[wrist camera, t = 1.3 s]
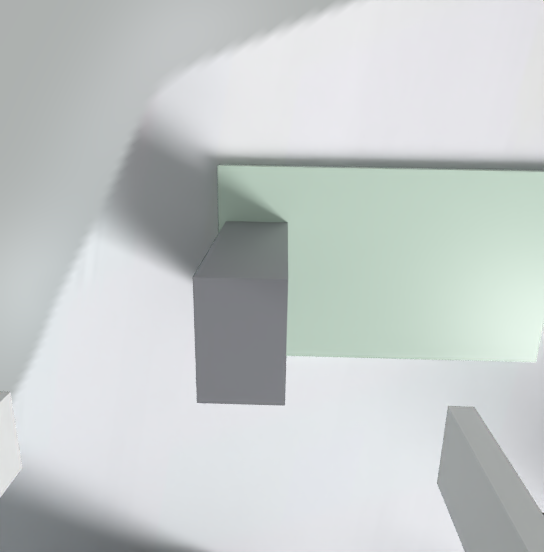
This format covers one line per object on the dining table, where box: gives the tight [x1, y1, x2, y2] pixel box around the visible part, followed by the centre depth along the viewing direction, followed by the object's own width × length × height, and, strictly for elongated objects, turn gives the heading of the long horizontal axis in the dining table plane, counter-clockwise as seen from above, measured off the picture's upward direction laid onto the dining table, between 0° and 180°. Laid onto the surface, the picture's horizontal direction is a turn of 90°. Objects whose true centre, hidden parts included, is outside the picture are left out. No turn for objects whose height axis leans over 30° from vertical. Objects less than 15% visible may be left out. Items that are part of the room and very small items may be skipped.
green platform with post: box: [193, 165, 544, 405], centre depth 28 cm, size 13×22×13 cm, turn 89°
